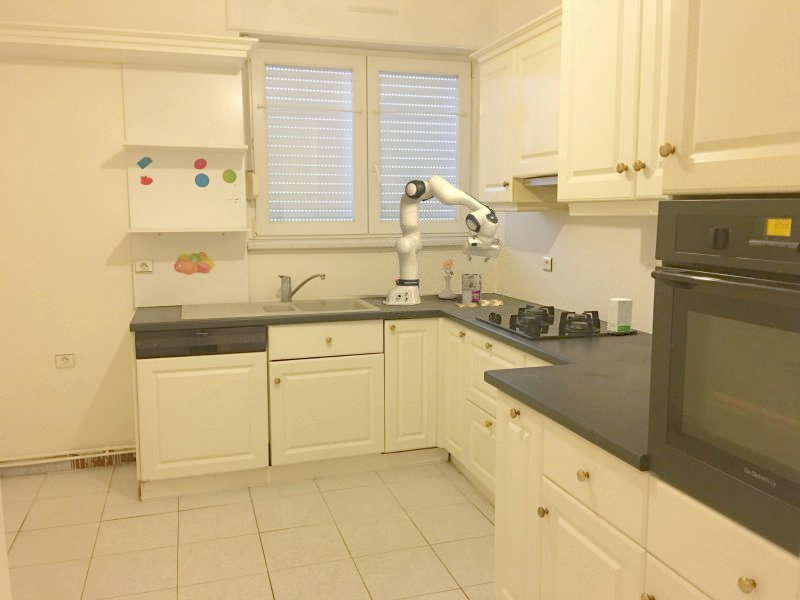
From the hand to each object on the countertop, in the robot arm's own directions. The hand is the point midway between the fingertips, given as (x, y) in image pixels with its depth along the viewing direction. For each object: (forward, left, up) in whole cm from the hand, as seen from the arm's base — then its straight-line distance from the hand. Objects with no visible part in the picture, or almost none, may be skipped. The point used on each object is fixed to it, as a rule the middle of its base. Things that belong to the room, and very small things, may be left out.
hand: (477, 260), depth 369 cm
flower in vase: (-8, +39, -26) cm, 47 cm away
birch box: (+10, +9, -26) cm, 29 cm away
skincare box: (+39, -90, -26) cm, 102 cm away
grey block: (-4, +8, -26) cm, 27 cm away
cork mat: (-4, +8, -26) cm, 27 cm away
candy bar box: (+4, +28, -26) cm, 38 cm away
